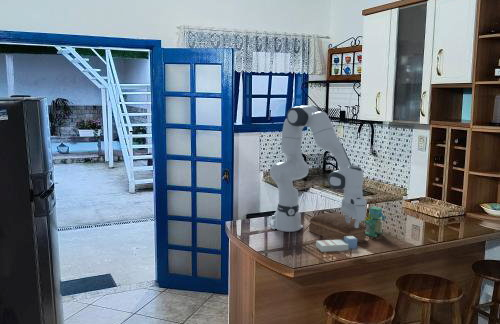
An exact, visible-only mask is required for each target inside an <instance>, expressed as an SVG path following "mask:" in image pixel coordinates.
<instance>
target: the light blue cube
mask: <svg viewBox="0 0 500 324" xmlns="http://www.w3.org/2000/svg"><path fill="white" fill-rule="evenodd" d="M344 241H345V242H346V243H347V244H348V250H351V249H352V250H354V249H355V250H356V249H358V241H357V238H355V237H354V236H344Z"/></svg>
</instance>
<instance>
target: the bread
mask: <svg viewBox="0 0 500 324" xmlns="http://www.w3.org/2000/svg"><path fill="white" fill-rule="evenodd" d="M309 220H310V221H309V222H310V223H309V225H308V230H309V231H310V232H311V231H312V233H314V234H317V235H319V236H322V237H325V238H328V240H339V239H342V240H343V241H344V236H354V237H355V238H357V242H361V241H364V240H365V239H366V237H367V236H366V235H365V232H366V227H365V226H364V225H363V224H362V223H361V222H360V223H359V227H358V228H355V227H354V224H355V222H356V221H355V219H354V218H352V217H350V223H347V222H346V218H345V215H342V214H339V213H335V212H326V213H319V214H316V215H315V216H312V217H311V218H310V219H309Z"/></svg>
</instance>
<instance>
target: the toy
mask: <svg viewBox="0 0 500 324" xmlns="http://www.w3.org/2000/svg"><path fill="white" fill-rule="evenodd" d="M385 221H386V216H385V215H384V212H383V208H382V207H377V206H371V207H369V213H367V217H365V220H364V223H365V225H366V226H365V235H366V236H365V237H372V238H377V236H378V234H379V235H381V234H382V233H383V222H385Z"/></svg>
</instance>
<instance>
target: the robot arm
mask: <svg viewBox="0 0 500 324" xmlns="http://www.w3.org/2000/svg"><path fill="white" fill-rule="evenodd" d="M329 117H330V116H329V115H328V114H327V113H326V112H325V111H322V110H321V108H320V107H318V106H315V105H300V106H298V105H297V106H293V107H291V108H289V109H288V111H287V113H286V118H285V120H284V122H283V125H282V133H281V142H280V143H281V145H280V146H281V147H280V149H281V152H282V153H284V155H285V156H286V161H279V162H276V163H274V164H272V165H271V166H270V169H269V175H270V179H272V181H274V182H275V184H276V186H277V188H278V204H277V206H276V207H277V210H276V211H275V212H274V213H273V214H272V215H271V220H269V224H271V225H270V227H271V229H272V230H275V229H277V231H280V232H288V233H289V232H292V233H293V232H297V231H299V230H301V229H303V228H304V225H303V224H302V214H301V213H300V212H299V211H300V209H299V208H300V206H299V190H298V189H297V188H296V187H294V184H293V183H294V182H293V181H296V180H302V179H304V178H306V177H307V176H308V174H309V172H310V171H309V170H310V168H309V165H308V163H307V161H305V160H304V157H303V154H302V138H303V130H304V128H305V127H307V128H308V127H309V128H310V130H311V132H312V137H313V139H314V141H315V144H316V146H317V147H319V148H320V149H322V150H324V151H327V152H329V153H330V154H332V155H333V156H334V157H335V158H334V159H335V160H336V162H337V165H338V167H339V169H338V170H334V171H331V172H330V173H329V175H328V176H327V177H328V178H327V183H328V186H329V187H330V188H331V189H333V190H344V192H343V193H344V195H343V198H342V199H341V206H340V209H341V212H342V213H344V216H345V218H346V222H347V223H350V218H352V219H354V220H355V221H356V222H355V224H354V227H355V228H358V227H359V223H361V221H362V222H363V221H364V222H365V220H366V213H367V209H366V208H367V207H366V206H367V203H368V202H367V201H368V200H367V199H366V198H365V197H364V195H363V186H364V173H363V169H362V167H360V166H358V165H354V164H352V163H351V161H350V159H349V156H348V153H347V152H346V151H347V150H346V149H345V147H344V146H343V144H342V142H341V140H339V138H338V136H337V134H336V131H335V129H334V126H333V123H332V122H331V121H332V120H331V119H330V118H329Z"/></svg>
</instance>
